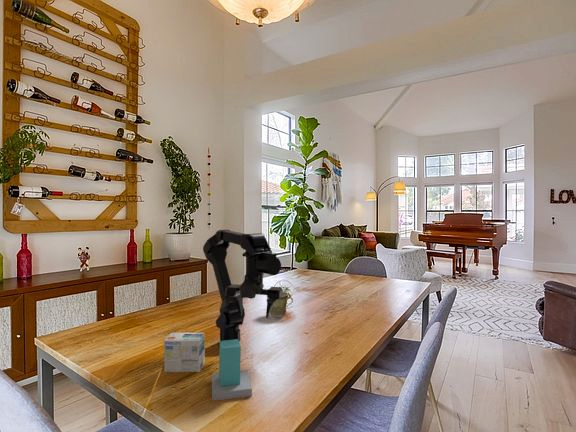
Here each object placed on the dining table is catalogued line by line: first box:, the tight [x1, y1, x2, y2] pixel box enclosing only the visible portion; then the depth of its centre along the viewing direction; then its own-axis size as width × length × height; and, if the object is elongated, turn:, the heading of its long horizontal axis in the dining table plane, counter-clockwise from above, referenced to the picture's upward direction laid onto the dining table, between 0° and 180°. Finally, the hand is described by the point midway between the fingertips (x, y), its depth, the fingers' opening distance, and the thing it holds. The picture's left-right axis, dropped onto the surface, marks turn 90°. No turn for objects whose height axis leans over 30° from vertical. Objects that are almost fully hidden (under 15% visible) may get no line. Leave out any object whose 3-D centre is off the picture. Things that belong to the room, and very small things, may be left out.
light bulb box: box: [163, 331, 205, 373], centre depth 100 cm, size 11×7×11 cm, turn 92°
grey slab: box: [211, 369, 253, 402], centre depth 88 cm, size 10×10×2 cm
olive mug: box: [266, 291, 294, 319], centre depth 152 cm, size 13×10×10 cm
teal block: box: [218, 339, 242, 387], centre depth 88 cm, size 5×5×10 cm
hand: (254, 316), depth 111 cm, fingers open, 9 cm apart
